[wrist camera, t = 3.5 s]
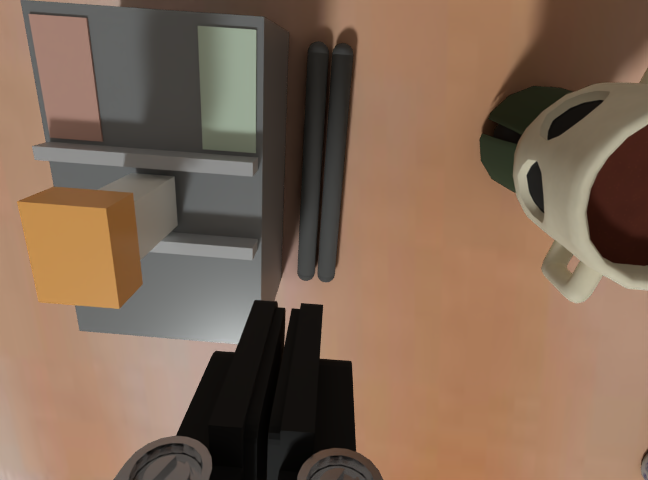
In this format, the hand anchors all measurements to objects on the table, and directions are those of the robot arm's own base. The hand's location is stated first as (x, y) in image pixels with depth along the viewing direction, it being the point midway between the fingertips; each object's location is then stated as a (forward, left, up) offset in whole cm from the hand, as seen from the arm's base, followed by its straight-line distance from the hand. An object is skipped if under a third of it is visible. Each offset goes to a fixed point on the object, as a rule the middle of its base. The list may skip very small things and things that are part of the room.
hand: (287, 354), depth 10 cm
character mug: (-3, +12, -19) cm, 23 cm away
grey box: (0, -8, -19) cm, 20 cm away
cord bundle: (0, 0, -19) cm, 19 cm away
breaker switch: (0, -8, -10) cm, 13 cm away
